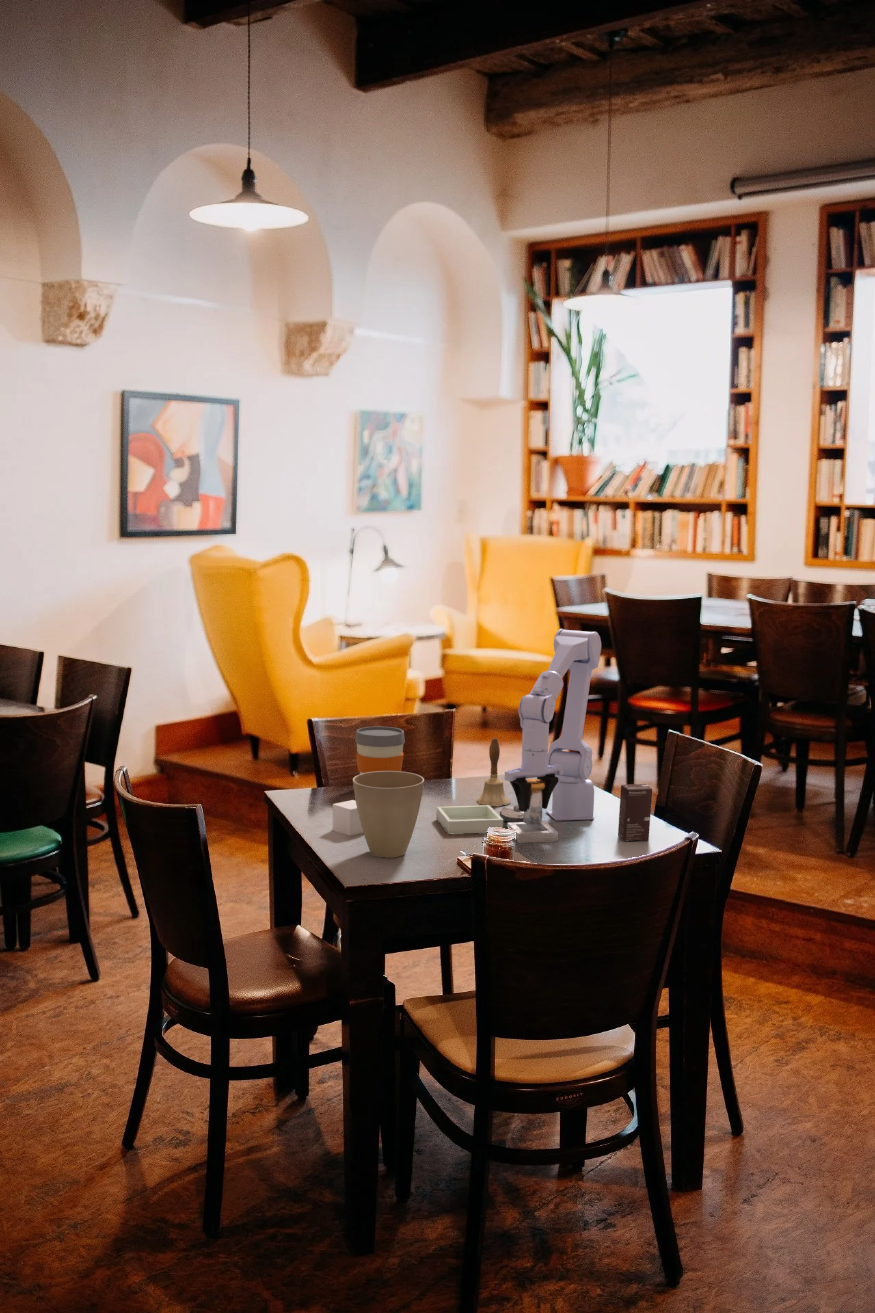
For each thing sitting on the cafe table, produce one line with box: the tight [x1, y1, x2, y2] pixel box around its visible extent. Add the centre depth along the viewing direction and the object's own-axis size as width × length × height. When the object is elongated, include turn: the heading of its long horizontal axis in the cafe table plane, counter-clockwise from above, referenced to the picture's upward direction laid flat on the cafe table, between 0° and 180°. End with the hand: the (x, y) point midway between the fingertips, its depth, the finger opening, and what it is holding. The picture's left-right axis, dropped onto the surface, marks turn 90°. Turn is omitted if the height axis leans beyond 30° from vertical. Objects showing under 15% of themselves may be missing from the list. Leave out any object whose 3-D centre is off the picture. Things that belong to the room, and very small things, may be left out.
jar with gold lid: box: [524, 778, 546, 825], centre depth 271 cm, size 5×5×9 cm
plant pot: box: [352, 770, 425, 859], centre depth 256 cm, size 15×15×16 cm
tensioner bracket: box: [499, 804, 559, 844], centre depth 277 cm, size 9×20×4 cm, turn 12°
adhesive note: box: [332, 799, 364, 837], centre depth 273 cm, size 6×6×6 cm
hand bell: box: [476, 737, 511, 807], centre depth 300 cm, size 8×8×16 cm
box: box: [617, 783, 653, 842], centre depth 271 cm, size 6×4×12 cm
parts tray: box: [435, 804, 504, 835], centre depth 279 cm, size 13×13×3 cm
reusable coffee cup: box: [354, 726, 406, 775], centre depth 310 cm, size 13×12×15 cm
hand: (533, 809), depth 271 cm, fingers closed on jar with gold lid, 5 cm apart
